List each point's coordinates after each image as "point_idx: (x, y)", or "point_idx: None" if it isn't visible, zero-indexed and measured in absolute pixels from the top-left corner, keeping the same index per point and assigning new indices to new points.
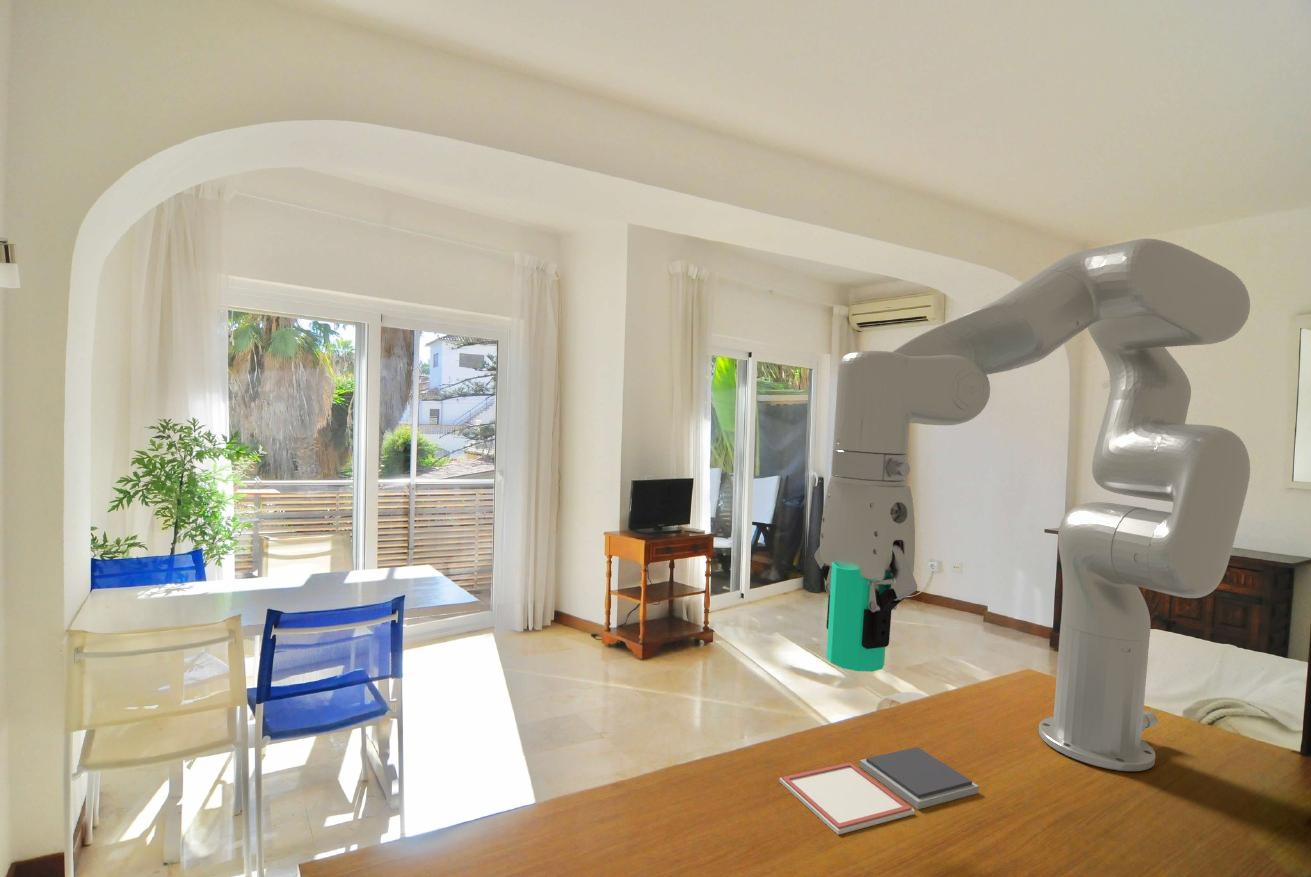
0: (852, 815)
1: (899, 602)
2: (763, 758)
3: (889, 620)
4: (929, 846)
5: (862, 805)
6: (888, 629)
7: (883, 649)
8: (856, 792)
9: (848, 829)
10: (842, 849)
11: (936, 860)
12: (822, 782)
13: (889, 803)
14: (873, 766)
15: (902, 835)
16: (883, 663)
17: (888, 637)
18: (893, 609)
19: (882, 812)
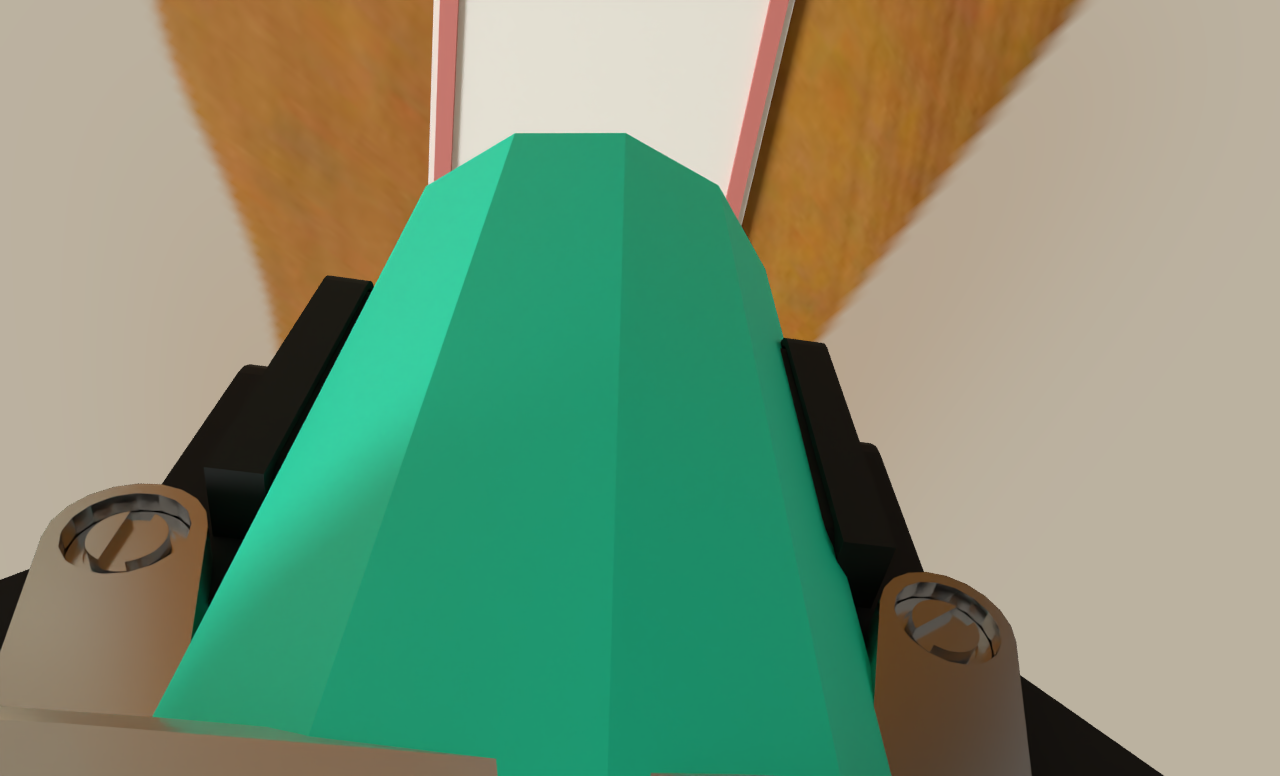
0: (705, 158)
1: (1106, 741)
2: (270, 149)
3: (910, 547)
4: (937, 45)
5: (687, 83)
6: (889, 495)
7: (782, 334)
8: (619, 33)
9: (742, 220)
10: (781, 286)
11: (983, 89)
12: (511, 97)
13: None
14: None
15: (851, 76)
16: (742, 233)
17: (878, 451)
18: (968, 616)
19: (759, 63)
